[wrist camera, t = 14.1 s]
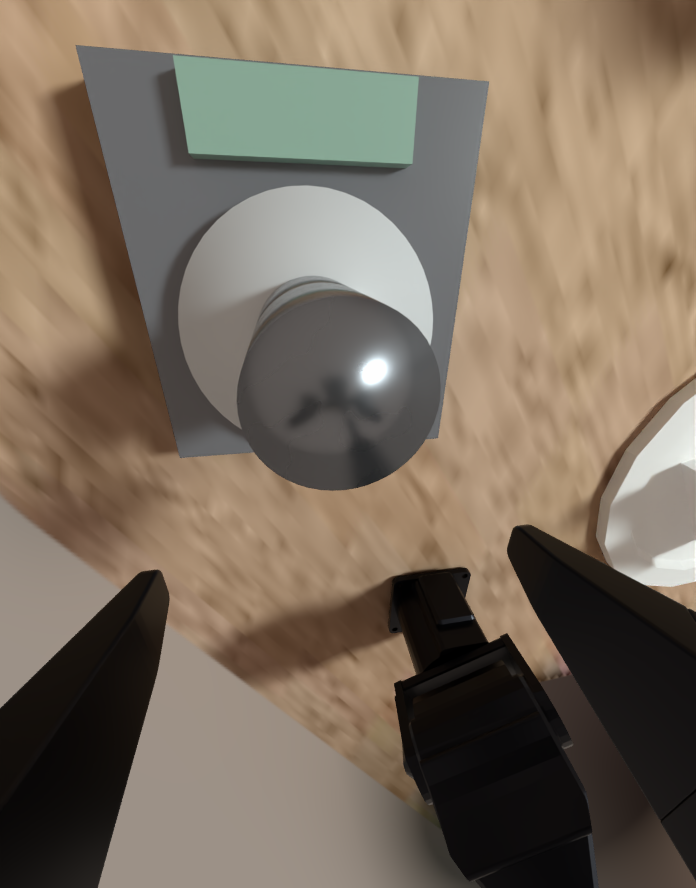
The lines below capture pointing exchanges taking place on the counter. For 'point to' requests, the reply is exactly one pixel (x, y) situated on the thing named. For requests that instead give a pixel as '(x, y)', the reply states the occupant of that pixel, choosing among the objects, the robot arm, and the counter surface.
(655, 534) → the dish
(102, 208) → the counter surface
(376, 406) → the cylinder
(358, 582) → the counter surface
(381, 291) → the scale
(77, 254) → the counter surface
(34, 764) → the robot arm
